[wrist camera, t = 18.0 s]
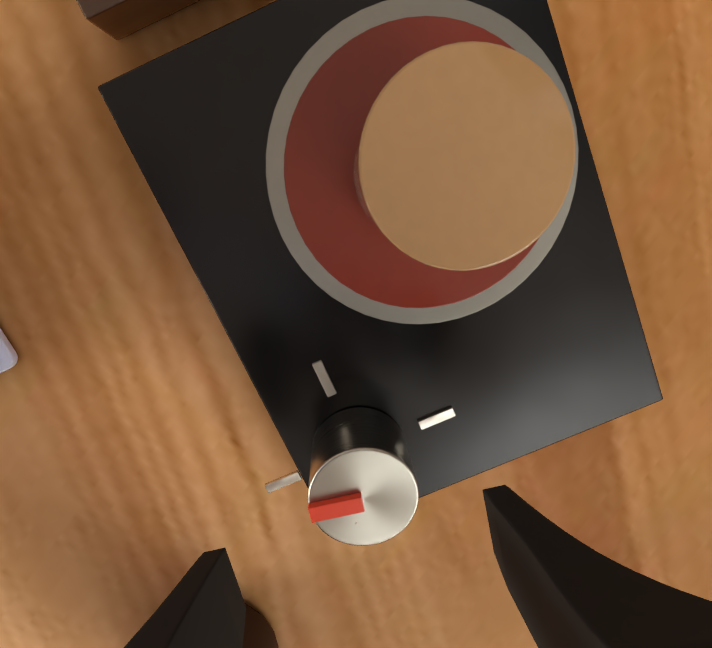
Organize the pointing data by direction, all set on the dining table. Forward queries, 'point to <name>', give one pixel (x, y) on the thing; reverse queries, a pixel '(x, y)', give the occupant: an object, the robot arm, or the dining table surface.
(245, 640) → the bottle
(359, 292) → the burner
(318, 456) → the dial
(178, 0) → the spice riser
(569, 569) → the robot arm
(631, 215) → the dining table surface
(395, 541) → the dining table surface
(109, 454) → the dining table surface
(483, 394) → the hot plate
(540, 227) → the cream jar
